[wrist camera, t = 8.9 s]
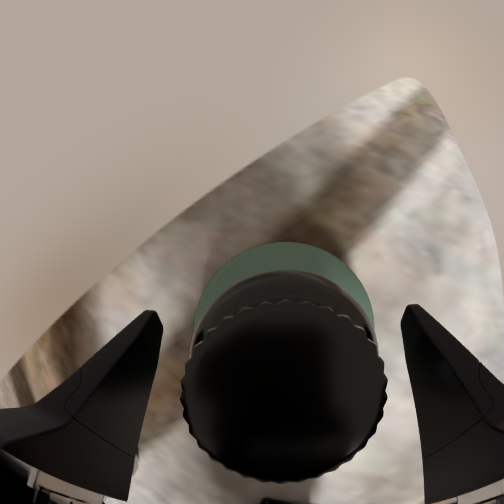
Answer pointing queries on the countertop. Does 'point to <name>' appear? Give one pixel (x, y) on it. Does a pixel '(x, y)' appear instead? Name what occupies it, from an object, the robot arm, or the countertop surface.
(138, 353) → the robot arm
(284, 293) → the supplement bottle
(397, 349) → the countertop surface
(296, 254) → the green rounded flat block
